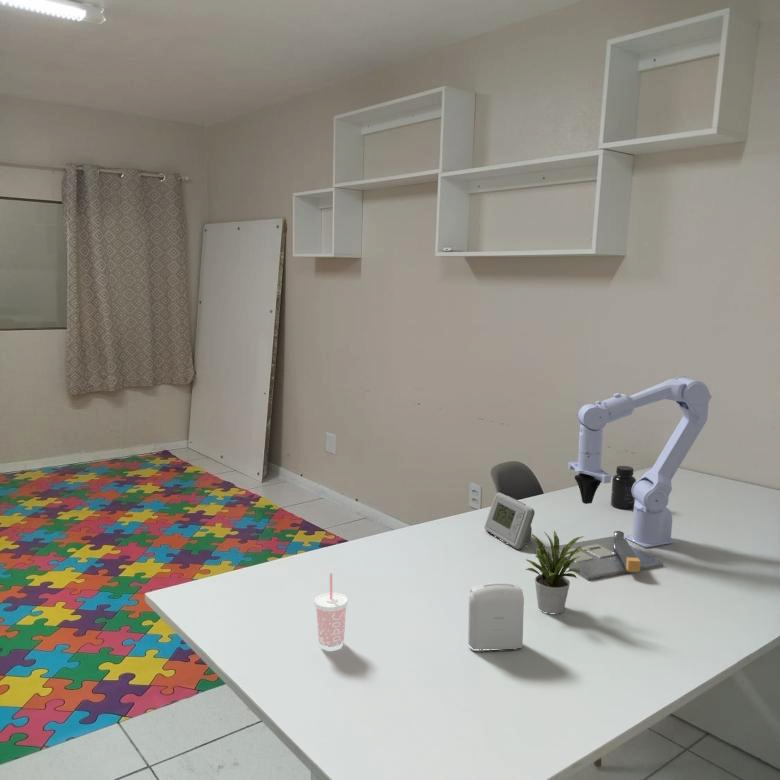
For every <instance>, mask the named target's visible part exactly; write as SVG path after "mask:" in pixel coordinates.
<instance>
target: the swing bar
mask: <svg viewBox="0 0 780 780" xmlns="http://www.w3.org/2000/svg"><path fill="white" fill-rule="evenodd" d="M630 546H631V544H629V542H628V540H627V539H626V538H624V539H616V540H615V549H616V551H617V553H618V554H619V556H620V558H621V560H622V561H623V563H624V565H625V567H626V569H627V571H628V572H629V573H640V571H641V570H640V560H639V558H637V556H636V555H635V553H634V552H633V550H632V548H631V547H630Z"/></svg>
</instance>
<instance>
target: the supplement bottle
mask: <svg viewBox="0 0 780 780" xmlns="http://www.w3.org/2000/svg"><path fill="white" fill-rule="evenodd" d="M615 473H616V474H615V475H613V477H612V478H611V480H612V481H611V497H610V504H611V505H610V506H612V507H613V508H615V509H618V510H632V509H634V504H635V498H634V497H633V495H632V492H631V490H632V486H633V484H634V483H635V482H636V481H637V480H636V477H635V476H634V474H635V473H634V468H633V467H631V466H629V465H628V466H627V465H618V466H617V467H616V472H615Z"/></svg>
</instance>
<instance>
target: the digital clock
mask: <svg viewBox="0 0 780 780" xmlns="http://www.w3.org/2000/svg"><path fill="white" fill-rule="evenodd" d="M488 512H489V513H488V516H487V518H486V521H485V524H484V530H486V532H488V533H489V532H490V534H493V535H494V536H493V535H492V536H493V537H495V536H496V537H498V538H499V539H498V538H497V539H498V540H500V539H501V540H503V541H504V542H503V541H502V542H503V543H505V542H506V543H508V544H509V545H508V544H507V545H508V546H510V545H511V546H510V547H513V548H515V549H516V550H521V549H523V548H524V545H525V543H527V544H530V542H531V543H532V532H533V531H532V523H533V520H534V516H535V514H536V513H535V509H534V508H532V507H530V506H528V505H526V503H523V502H521V501H520V500H518V499H515V498H514V497H511V496H509V495H507V494H505V493H502V492H497V493H496V494H495V495H494V496H493V501H492V503H491V507H490V509H489V511H488ZM496 537H495V538H496ZM501 540H500V541H501ZM506 543H505V544H506ZM521 544H522V545H521Z"/></svg>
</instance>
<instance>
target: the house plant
mask: <svg viewBox="0 0 780 780" xmlns="http://www.w3.org/2000/svg"><path fill="white" fill-rule="evenodd" d="M543 533H544V534H545V536H546V537H547V538H548V539H547V540H549V543H550V547H551V549H552V558H551V557H549V552H548V550H545V548H546V547H545V545H544V544H543V543H542V541H541V540H540V539H539V538H538V537H537V536H536V535H534V534H532V533H531V537H533V539H534V540H535V542H536V545H537V548H536V555H534V557H535V558H537V559H538V563H539V564H538V563H536V562H534V561H533V560H530V559H525V561H526V562H529V563H530V564H531V565H533V567H535V568H536V569H538V570H539V571H538V570H536V569H535V568H533V567H527V568H525V571H530V572H533V573H535V574H537V575H536V576H535V578H534V583H535V591H536V600H537V609H538V608H539V609H540V610H542V611H544V612H547V613H555V614H557V615H559V614H558V613H561V612H562V613H564V609H565V606H566V602H567V597H568V593H569V589H570V584H571V582H570V580H569V577H572V578H575V579H578V577H577V576H576V574H575V572H578V573H579V574H580V570H579V569H577V568H573V569H568V567H569V565H570V564H571V563H572V562H573V561H574V560H575V559H577V558H579V557H575V558H573V559H571V557H572V556H573V555H574V554H576V553H578V552H581V551H591V550H587V549H582V550H579V549H580V548H582V547H584V546H580V547H578V548H576V549H575V550H574V551H573V552H572V553H571V554H570V556H567V557H565V556H566V555H567V554H568V553H569V552H571V551H569V552H568V550H569V549H570V547H571V546H572V545H573V544H574V543H576V542H578V541H579V540H580V539H582V538H584V537H585V536H577V537H575V538H572V539H571V540H570V541H569V542H568V543H566V544H567V546H566V547H564V548H563V550H562V552H561V555H560V558H559V545H560V539H559V537H558V535H557V532H556V531H555V530H553V539H552V537H551V536H550V535H548V534H547V533H546V532H545V531H543ZM521 545H522V544H521ZM524 546H525V547H527V548H528V549H530V550H532V551H533V549H532V548H531V547H530V546H528V545H525V544H524ZM524 546H523V547H524ZM564 557H565V558H564ZM580 557H581V556H580ZM567 558H568V559H567ZM570 559H571V560H570ZM567 569H568V570H567ZM569 572H571V573H569ZM572 572H573V573H572ZM567 577H568V578H567ZM539 609H538V610H539ZM540 610H539V611H540ZM562 613H561V614H562Z"/></svg>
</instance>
